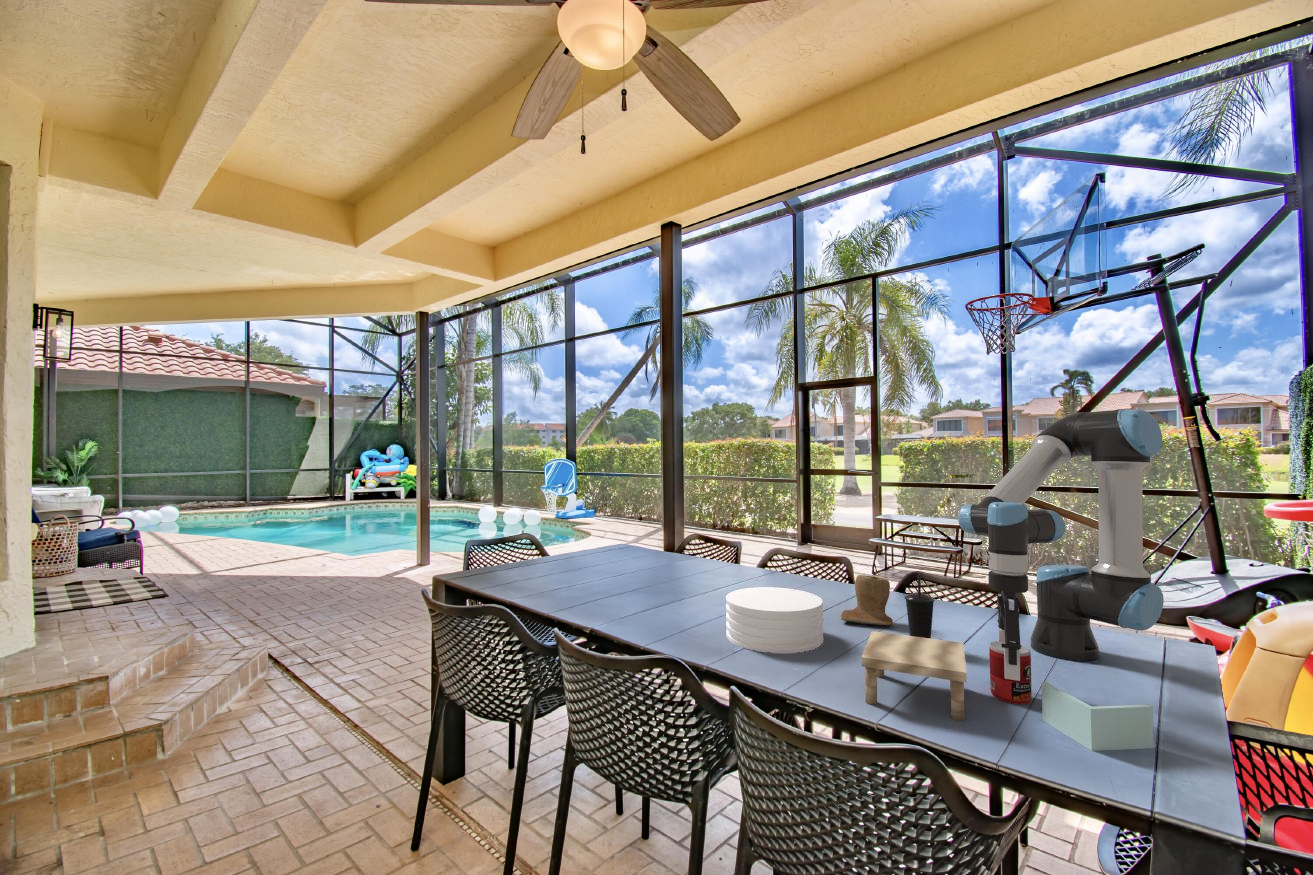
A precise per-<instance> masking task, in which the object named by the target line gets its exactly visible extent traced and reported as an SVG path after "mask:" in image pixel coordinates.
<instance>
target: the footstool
mask: <svg viewBox="0 0 1313 875" xmlns="http://www.w3.org/2000/svg"><path fill="white" fill-rule="evenodd" d="M964 644H965V643H964V642H960V641H951V640H946V639H945V640H944V639H938V638H937V639H936V638H931V639H930V638H922V637H914V636H910V635H906V634H897V633H889V632H883V631H874V630H872V631H871V632H870V635H869V637H868V639H867V642H866V645H865V647H864V649H863V653H862V655H861V667H864V677H865V678H864V680H865V681H864V687H865V689H864V690H865V693H864V695H865V703H866V704H868V705H872V706H874V705H877V704H878V678H884V677H885V671H888V672H894V673H901V674H908V675H915V676H921V677H927V678H934V679H940V680H948V681H949V687H950V717H951V719H952V720H955V721H964V720H965V683H968V679H967V678H968V677H967V676H968V675H967V674H968V673H967V666H966V665H967V664H966V654H965V646H964Z"/></svg>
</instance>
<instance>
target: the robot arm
mask: <svg viewBox="0 0 1313 875" xmlns="http://www.w3.org/2000/svg"><path fill="white" fill-rule="evenodd" d="M1162 447H1163V434H1162V430H1161V428H1160V425H1159V423H1158V421H1157V419H1155V417H1154V415H1152V414H1151V413H1150V412H1148V411H1146V410H1144V409H1127V408H1126V409H1125V408H1124V409H1114V410H1113V409H1112V410H1111V409H1110V410H1101V411H1082V412H1076V413H1072V414H1069V415H1066V416H1064V417H1062V418H1060V419H1058V420H1056V421H1055V422H1053V423H1051V424H1049V426H1047V427H1045V428H1044V429H1043V430H1042V431H1040V433H1038V435H1036V436H1035V438H1033V440H1032V441H1031V444H1030V449H1029V450H1028V451H1027V452H1026V453H1025V454H1024V455H1023V456H1022V457H1021V459H1019V460H1018V461H1017V463H1016V464H1015V465H1014V466H1012V468H1011V469H1010V470H1009V471H1008V472H1007V473H1006V474H1005V475H1004V476H1003V477H1002V478H1001V479H1000V480H999V482H997V484H996V485H995V486H994V487H993V488H992V489H991V490H990V491H989V492H988V493H987V494H986V495H985V496H984V497H983V499H982V500H981V501H980V502H978V504H977V503H976V504H975V503H970V504H964V505H963V506H962V507H960V509H959V511H958V514H957V521H958V524H959V526H960V528H961V530H962V531H964V532H965V533H968V534H973V535H976V536H983V537H988V550H987V551H988V554H989V555H985V559H986V560H987V561H988V569H989V570H990V571H989V572H988V579H987V580H988V588H990V589H992V590H994V591H997V592H998V595H997V597H996V599H997V600H996V602H997V610H998V611H997V612H998V614H997V615H998V618H997V623H998V628H999V629H998V641H1002V642H1005V644H1003V643H1002V646H1001V647H1002V648H1004V665H1005V679H1011V680H1017V681H1020V649H1021V645H1022V644H1021V634H1020V629H1021V628H1020V605H1021V604H1020V600H1019V598H1018V597H1016V594H1017V593H1018V594H1024V593H1027V592H1028V591H1029V576H1028V574H1026V573H1028V572H1029V554H1028V553H1029V552H1028V546H1029V545H1030V544H1048V543H1052V542H1053V543H1054V542H1057V541H1059V540H1060V539H1061V538H1062V537H1063V536H1064V535H1065V533H1066V522H1065V520H1064V519H1063V517H1062V516H1061V515H1060V514H1059V513H1058V512H1056V511H1054V510H1050V509H1041V508H1040V509H1039V508H1038V509H1028V507H1027V505H1026V504H1025V503H1026V501H1028V499H1029V498H1030V497H1031V496H1032V495H1033V494H1034V493H1035V492H1036V490H1037V489H1038V488H1040V486H1041V485H1042V484H1043V483H1044V482H1045V481H1046V480H1047V478H1048V477H1049V476H1050V475H1051V474H1052V473H1053V472H1054V471H1055V470H1056V469H1057V467H1059V466H1062V465H1066V464H1067V463H1068V462H1069V461H1070V460H1071V459H1073V458H1075V457H1082V456H1083V457H1084V456H1085V457H1090V462H1091V464H1092V465H1093V466H1095V467H1096V468H1097V470H1098V563H1097V564H1095V565H1094V566H1093V567H1091V570H1089V567H1088V566H1085V565H1078V564H1053V565H1052V564H1049V565H1043V566H1040V567H1039V568H1038V569H1037V570H1036V581H1035V584H1036V603H1037V604H1036V605H1037V606H1036V607H1037V608H1036V609H1037V611H1036V612H1037V620H1036V622H1035V626H1034V628H1033V631H1032V634H1031V636H1030V647H1031V649H1033V650H1034V651H1036V652H1038V653H1041V654H1043V655H1045V656H1050V657H1054V658H1058V659H1064V660H1071V661H1081V662H1083V661H1084V662H1085V661H1086V662H1087V661H1095V660H1098V659H1099V658H1100V648H1099V645H1098V643H1097V640H1096V638H1095V634H1094V632H1093V630H1092V627H1091V620H1093V621H1097V622H1100V623H1105V624H1108V625H1113V626H1116V627H1119V628H1122V629H1130V630H1135V631H1147V630H1149V629H1151V628H1152V627H1153V626H1154V625H1156V623H1157V621H1159V619H1160V617H1161V615H1162V612H1163V608H1164V601H1165V600H1164V598H1165V597H1164V593H1163V592H1162V589H1161V588H1160V586H1158V585H1156V584H1154V583H1152V575H1151V574H1150V573H1149V572H1148V571H1147V570H1146V569H1145V568H1144V566H1143V565H1144V563H1143V562H1144V558H1143V556H1144V555H1143V554H1144V552H1143V551H1144V550H1143V547H1144V546H1143V545H1144V544H1143V543H1144V542H1143V536H1144V535H1143V534H1144V533H1143V471H1144V469H1145V468H1147V467H1148V466H1149V465H1151V457H1154V456H1157V455H1158V454H1160V453H1161V450H1162V449H1161V448H1162ZM1028 544H1029V545H1028ZM1090 571H1091V572H1090Z"/></svg>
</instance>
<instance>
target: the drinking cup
mask: <svg viewBox="0 0 1313 875" xmlns="http://www.w3.org/2000/svg"><path fill="white" fill-rule="evenodd" d="M921 583H922V582H921V574H917V592H913V593H909V594H905V595H904V600H905V604H906V613H907V621H908V622H907V623H908V631H909V636H914V637H922V638H930V639H932V638H931V637H932V627H933V626H932V625H933V614H934V602H935V601H936V599H935V598H934V597H933V596H930V594H926V593H923V592H922V589H921V588H922V587H921V585H922V584H921Z"/></svg>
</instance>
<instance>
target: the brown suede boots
mask: <svg viewBox="0 0 1313 875" xmlns="http://www.w3.org/2000/svg"><path fill="white" fill-rule="evenodd" d="M854 581H855V582H854V590H855V591H854V592H855V597H856V607H855V608H853V609H844V610H843V611H842V612H841V614H840V620H841V621H844V622H847V623H848V622H849V623H857V624H862V625H876V626H890V625H892V624H893V623H894V621H893V619H892V617H890V616H888V615H887V613H886V607H887V604H888V601H889V598H890V592H891V591H890V589H891V585H890V581H889V579H887V578H885V577H880V576H875V575H874V576H873V575H867V574H866V575H865V574H858V575H856V578H855V580H854Z"/></svg>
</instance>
